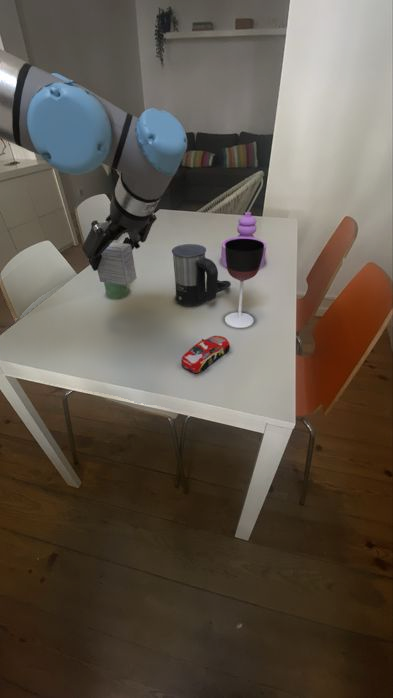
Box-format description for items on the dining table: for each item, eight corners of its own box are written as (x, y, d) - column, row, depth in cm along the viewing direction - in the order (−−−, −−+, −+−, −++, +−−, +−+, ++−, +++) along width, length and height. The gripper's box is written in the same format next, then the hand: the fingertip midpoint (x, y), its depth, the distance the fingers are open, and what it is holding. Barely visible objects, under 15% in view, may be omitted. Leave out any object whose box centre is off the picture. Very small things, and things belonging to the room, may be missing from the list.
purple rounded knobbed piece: (263, 272, 106) (268, 232, 98) (218, 269, 109) (219, 230, 101) (265, 245, 126) (269, 210, 118) (226, 243, 128) (228, 209, 120)
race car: (216, 339, 77) (216, 326, 75) (233, 349, 74) (234, 335, 72) (177, 366, 69) (176, 351, 67) (195, 377, 66) (194, 363, 64)
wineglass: (257, 328, 80) (266, 251, 68) (223, 328, 81) (226, 251, 68) (253, 311, 87) (261, 238, 74) (221, 312, 87) (224, 238, 75)
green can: (104, 298, 94) (95, 259, 87) (109, 288, 99) (102, 250, 92) (126, 298, 94) (119, 259, 86) (130, 288, 99) (124, 250, 92)
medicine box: (137, 278, 78) (132, 243, 72) (128, 286, 74) (121, 250, 69) (109, 274, 80) (102, 240, 74) (99, 282, 76) (91, 247, 71)
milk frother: (169, 303, 91) (165, 252, 82) (193, 280, 102) (191, 234, 93) (214, 313, 86) (215, 261, 77) (234, 288, 97) (237, 240, 88)
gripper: (93, 231, 52) (76, 287, 71) (188, 207, 62) (149, 262, 82) (71, 190, 52) (59, 258, 71) (169, 173, 62) (135, 237, 82)
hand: (107, 260), depth 77 cm, fingers closed on medicine box, 7 cm apart
